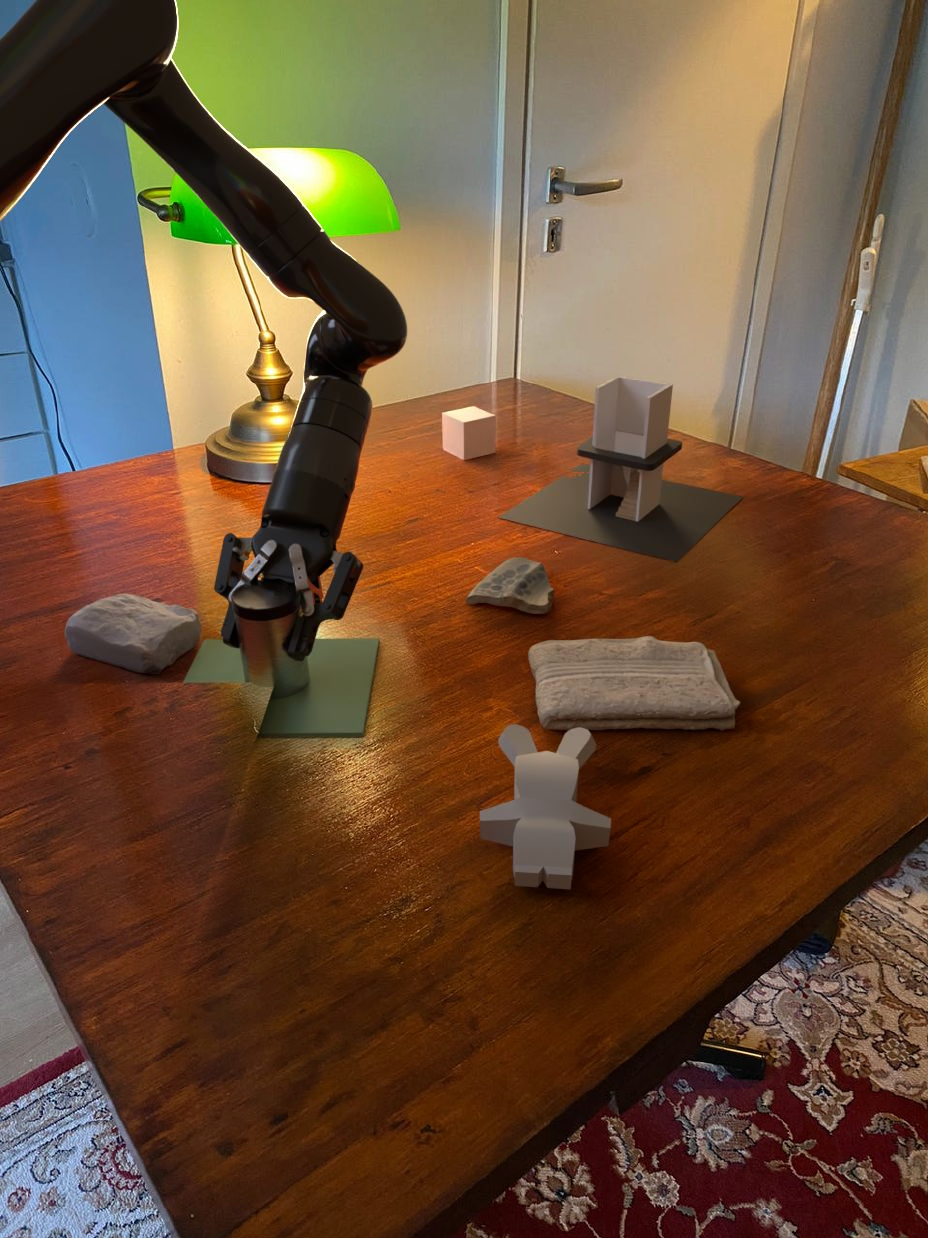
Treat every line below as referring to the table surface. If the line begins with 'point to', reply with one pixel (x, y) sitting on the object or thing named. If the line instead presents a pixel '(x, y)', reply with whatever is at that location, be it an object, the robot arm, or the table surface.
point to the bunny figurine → (545, 809)
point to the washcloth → (630, 685)
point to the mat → (323, 704)
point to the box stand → (627, 480)
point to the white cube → (468, 432)
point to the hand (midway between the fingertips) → (262, 651)
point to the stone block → (133, 632)
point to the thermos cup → (269, 635)
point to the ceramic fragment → (516, 587)
